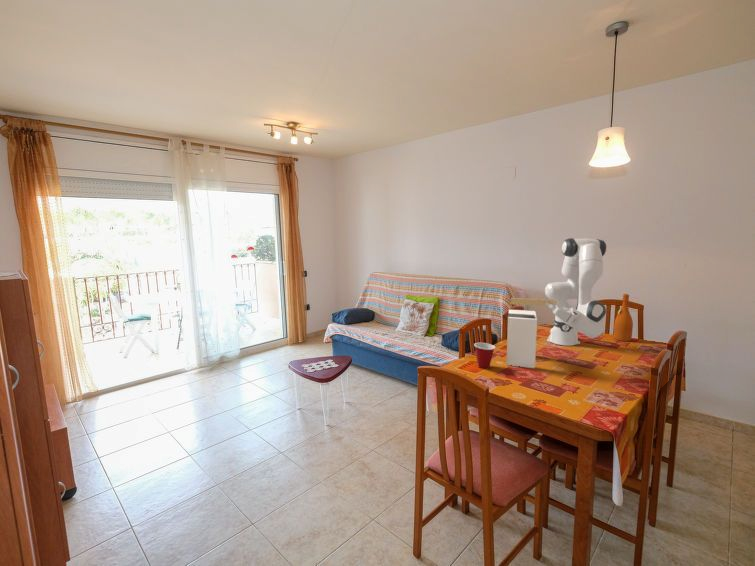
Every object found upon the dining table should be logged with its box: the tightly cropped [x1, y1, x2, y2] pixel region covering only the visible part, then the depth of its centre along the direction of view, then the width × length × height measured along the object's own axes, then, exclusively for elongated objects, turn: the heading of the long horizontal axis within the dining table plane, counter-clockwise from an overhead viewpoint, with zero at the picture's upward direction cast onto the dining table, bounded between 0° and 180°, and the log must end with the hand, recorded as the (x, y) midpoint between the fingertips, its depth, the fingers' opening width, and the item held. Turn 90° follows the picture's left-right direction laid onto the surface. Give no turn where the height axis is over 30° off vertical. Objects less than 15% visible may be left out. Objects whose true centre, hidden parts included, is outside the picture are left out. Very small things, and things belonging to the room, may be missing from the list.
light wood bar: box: [510, 297, 557, 307], centre depth 188 cm, size 3×22×3 cm, turn 69°
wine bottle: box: [613, 293, 634, 342], centre depth 229 cm, size 10×10×30 cm
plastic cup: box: [473, 342, 496, 370], centre depth 189 cm, size 11×11×12 cm
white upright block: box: [505, 309, 538, 369], centre depth 197 cm, size 21×14×26 cm, turn 159°
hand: (545, 301), depth 186 cm, fingers closed on light wood bar, 3 cm apart
